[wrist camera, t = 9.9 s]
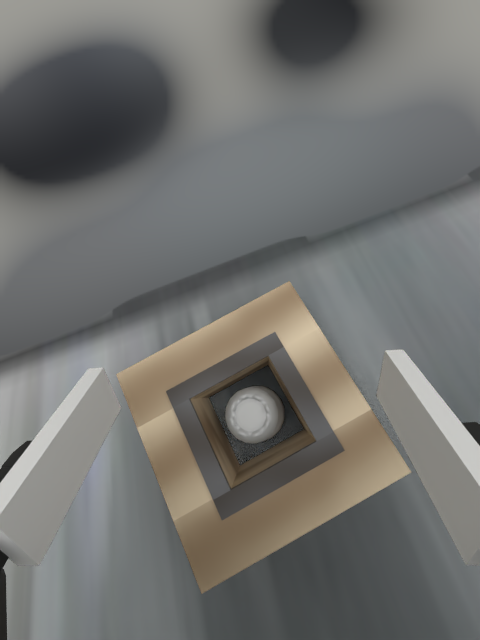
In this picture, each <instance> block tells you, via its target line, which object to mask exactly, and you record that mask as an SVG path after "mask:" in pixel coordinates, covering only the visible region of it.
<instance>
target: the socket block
mask: <svg viewBox="0 0 480 640" xmlns="http://www.w3.org/2000/svg"><path fill="white" fill-rule="evenodd" d="M267 365H269V367H270V369H271V371H272V372H273V374H274V376H275V378H276V380H277V381H278V383H279V385H280V387H281V388H282V390H283V392H284V394H285V396H286V397H287V399H288V401H289V403H290V405H291V406H292V408H293V410H294V412H295V413H296V415H297V417H298V419H299V421H300V422H301V424H302V426H303V428H304V430H302V431H300V432H298V433H297V434H295V435H293V436H291V437H290V438H288V439H286V440H284V441H282V442H281V443H279V444H277V445H275V446H274V447H272V448H270V449H268V450H266V451H265V452H263V453H261V454H259V455H258V456H256V457H254V458H252V459H250V460H249V461H247V462H245V463H243V464H242V465H240V464H239V462H238V460H237V458H236V456H235V453H234V451H233V449H232V447H231V445H230V443H229V440H228V438H227V436H226V434H225V432H224V430H223V428H222V425H221V423H220V421H219V419H218V417H217V415H216V412H215V410H214V408H213V406H212V404H211V402H210V400H209V397H210V396H212V395H214V394H216V393H218V392H220V391H221V390H223V389H225V388H227V387H229V386H230V385H232V384H234V383H236V382H238V381H240V380H241V379H243V378H245V377H247V376H249V375H250V374H252V373H254V372H256V371H258V370H260V369H261V368H263V367H265V366H267ZM116 375H117V378H118V380H119V383H120V385H121V388H122V390H123V393H124V396H125V398H126V401H127V403H128V406H129V408H130V411H131V414H132V416H133V419H134V421H135V424H136V426H137V429H138V432H139V434H140V437H141V439H142V442H143V444H144V447H145V450H146V452H147V455H148V457H149V460H150V462H151V465H152V468H153V470H154V473H155V475H156V478H157V480H158V483H159V486H160V488H161V491H162V493H163V496H164V498H165V501H166V504H167V506H168V509H169V511H170V514H171V516H172V519H173V522H174V524H175V527H176V529H177V532H178V534H179V537H180V540H181V542H182V545H183V547H184V550H185V552H186V555H187V558H188V560H189V563H190V565H191V568H192V570H193V573H194V576H195V578H196V581H197V583H198V586H199V588H200V591H201V594H202V593H204V592H206V591H207V590H209V589H211V588H213V587H214V586H216V585H218V584H219V583H221V582H223V581H225V580H226V579H228V578H230V577H232V576H233V575H235V574H237V573H238V572H240V571H242V570H244V569H245V568H247V567H249V566H251V565H252V564H254V563H256V562H257V561H259V560H261V559H263V558H264V557H266V556H268V555H270V554H271V553H273V552H275V551H276V550H278V549H280V548H282V547H283V546H285V545H287V544H289V543H290V542H292V541H294V540H295V539H297V538H299V537H301V536H302V535H304V534H306V533H308V532H309V531H311V530H313V529H314V528H316V527H318V526H320V525H321V524H323V523H325V522H327V521H328V520H330V519H332V518H333V517H335V516H337V515H339V514H340V513H342V512H344V511H346V510H347V509H349V508H351V507H352V506H354V505H356V504H358V503H359V502H361V501H363V500H365V499H366V498H368V497H370V496H371V495H373V494H375V493H377V492H378V491H380V490H382V489H384V488H385V487H387V486H389V485H390V484H392V483H394V482H396V481H397V480H399V479H401V478H402V477H404V476H406V475H408V474H409V473H411V471H410V469H409V468H408V466H407V464H406V463H405V461H404V460H403V458H402V457H401V455H400V453H399V452H398V450H397V449H396V447H395V446H394V444H393V442H392V441H391V439H390V438H389V436H388V435H387V433H386V432H385V430H384V428H383V427H382V425H381V424H380V422H379V421H378V419H377V417H376V416H375V414H374V413H373V411H372V410H371V408H370V406H369V405H368V403H367V402H366V400H365V399H364V397H363V396H362V394H361V392H360V391H359V389H358V388H357V386H356V385H355V383H354V381H353V380H352V378H351V377H350V375H349V374H348V372H347V370H346V369H345V367H344V366H343V364H342V363H341V361H340V360H339V358H338V356H337V355H336V353H335V352H334V350H333V349H332V347H331V345H330V344H329V342H328V341H327V339H326V338H325V336H324V334H323V333H322V331H321V330H320V328H319V327H318V325H317V324H316V322H315V320H314V319H313V317H312V316H311V314H310V313H309V311H308V309H307V308H306V306H305V305H304V303H303V302H302V300H301V298H300V297H299V295H298V294H297V292H296V291H295V289H294V288H293V286H292V284H291V283H290V281H289V282H287V283H285V284H283V285H281V286H279V287H277V288H276V289H274V290H272V291H270V292H268V293H266V294H264V295H263V296H261V297H259V298H257V299H255V300H253V301H251V302H250V303H248V304H246V305H244V306H242V307H240V308H238V309H237V310H235V311H233V312H231V313H229V314H227V315H225V316H224V317H222V318H220V319H218V320H216V321H214V322H213V323H211V324H209V325H207V326H205V327H203V328H201V329H200V330H198V331H196V332H194V333H192V334H190V335H188V336H187V337H185V338H183V339H181V340H179V341H177V342H175V343H174V344H172V345H170V346H168V347H166V348H164V349H162V350H161V351H159V352H157V353H155V354H153V355H151V356H149V357H148V358H146V359H144V360H142V361H140V362H138V363H136V364H135V365H133V366H131V367H129V368H127V369H125V370H123V371H122V372H120V373H118V374H116Z"/></svg>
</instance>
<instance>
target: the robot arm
mask: <svg viewBox="0 0 480 640" xmlns="http://www.w3.org/2000/svg"><path fill="white" fill-rule="evenodd" d="M376 396H377V398H378V400H379V402H380V403H381V405H382V407H383V409H384V411H385V413H386V415H387V417H388V419H389V420H390V422H391V424H392V426H393V428H394V430H395V432H396V434H397V436H398V437H399V439H400V441H401V443H402V445H403V447H404V449H405V451H406V453H407V455H408V456H409V458H410V460H411V462H412V464H413V466H414V468H415V470H416V472H417V473H418V475H419V477H420V479H421V481H422V483H423V485H424V487H425V489H426V490H427V492H428V494H429V496H430V498H431V500H432V502H433V504H434V506H435V508H436V509H437V511H438V513H439V515H440V517H441V519H442V521H443V523H444V525H445V526H446V528H447V530H448V532H449V534H450V536H451V538H452V540H453V542H454V543H455V545H456V547H457V549H458V551H459V553H460V555H461V557H462V559H463V561H464V562H465V564H466V565H480V425H479V424H478V423H477V422H470V423H461V422H460V421H459V419H458V418H457V417H456V415H455V414H454V413H453V412H452V410H451V409H450V408H449V407H448V405H447V404H446V403H445V402H444V400H443V399H442V398H441V397H440V395H439V394H438V393H437V392H436V390H435V389H434V388H433V387H432V385H431V384H430V383H429V382H428V380H427V379H426V378H425V376H424V375H423V374H422V373H421V371H420V370H419V369H418V368H417V366H416V365H415V364H414V363H413V361H412V360H411V359H410V358H409V356H408V355H407V354H406V353H405V351H404V350H387V351H385V354H384V359H383V364H382V369H381V374H380V380H379V385H378V390H377V395H376ZM120 410H121V406H120V404H119V402H118V399H117V397H116V395H115V393H114V390H113V388H112V386H111V384H110V381H109V379H108V377H107V375H106V372H105V370H104V368H91V369H88V370H87V371H86V372H85V374H84V375H83V376H82V377H81V379H80V380H79V381H78V383H77V384H76V385H75V387H74V388H73V389H72V390H71V392H70V393H69V394H68V396H67V397H66V398H65V399H64V401H63V402H62V403H61V405H60V406H59V407H58V409H57V410H56V411H55V412H54V414H53V415H52V416H51V418H50V419H49V420H48V422H47V423H46V424H45V425H44V427H43V428H42V429H41V431H40V432H39V433H38V435H37V436H36V437H35V438H34V440H33V441H26V442H25V443H24V444H23V445H21V446H20V447H19V448H18V449H17V450H15V451H14V452H13V453H12V454H11V455H10V457H9V458H8V459H7V460H6V462H5V463H4V464H3V465H2V468H1V469H0V640H7V613H6V575H5V572H4V569H3V566H4V565H5V563H6V561H7V560H8V558H9V559H10V560H11V561H13V562H14V563H15V564H16V565H17V566H40V564H41V562H42V560H43V558H44V556H45V554H46V553H47V551H48V549H49V547H50V545H51V543H52V541H53V539H54V537H55V535H56V533H57V531H58V529H59V527H60V525H61V524H62V522H63V520H64V518H65V516H66V514H67V512H68V510H69V508H70V506H71V504H72V502H73V500H74V498H75V496H76V495H77V493H78V491H79V489H80V487H81V485H82V483H83V481H84V479H85V477H86V475H87V473H88V471H89V469H90V468H91V466H92V464H93V462H94V460H95V458H96V456H97V454H98V452H99V450H100V448H101V446H102V444H103V442H104V440H105V439H106V437H107V435H108V433H109V431H110V429H111V427H112V425H113V423H114V421H115V419H116V417H117V415H118V413H119V411H120Z"/></svg>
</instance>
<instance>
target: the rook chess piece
mask: <svg viewBox="0 0 480 640" xmlns="http://www.w3.org/2000/svg"><path fill="white" fill-rule="evenodd" d="M225 420H226V423H227V426H228V429H229V431H230V432H231V433H232V434H233V435H234V437H235V438H237V439H239V440H241V441H243V442H244V443H255V444H256V443H259V442H263V441H265V440H268V439H271V438H273V437H274V436H275V435H276V434H277V433H278V432H279V431H280V430H281V427H282V425H283V422H284V420H285V418H284V406H283V403H282V401H281V398H280V397H279V396H278V395H277V394H276V393H275V392H274V391H273V390H271V389H269V388H267V387H265V386H251V387H248V388H244V389H242V390H239V391H237V392H236V393H235V394H234V395H233V396H232V397H231V398H230V400H229V402H228V404H227V406H226V412H225Z"/></svg>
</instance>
